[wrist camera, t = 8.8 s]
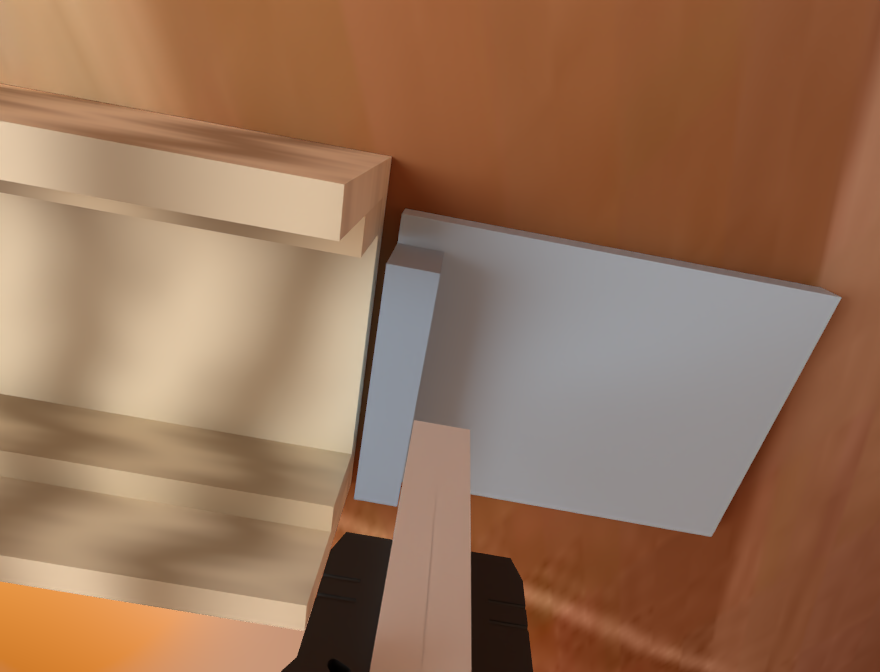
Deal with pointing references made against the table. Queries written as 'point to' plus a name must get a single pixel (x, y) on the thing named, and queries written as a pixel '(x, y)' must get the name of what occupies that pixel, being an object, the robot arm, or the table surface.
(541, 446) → the cover plate
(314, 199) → the case
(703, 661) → the table surface
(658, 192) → the table surface
